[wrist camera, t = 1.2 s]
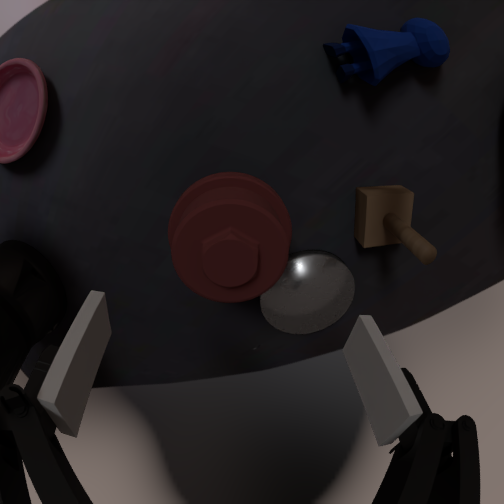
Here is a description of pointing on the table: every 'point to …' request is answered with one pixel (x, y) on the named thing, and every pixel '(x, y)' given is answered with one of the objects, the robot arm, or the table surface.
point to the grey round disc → (309, 293)
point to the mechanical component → (229, 237)
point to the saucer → (21, 107)
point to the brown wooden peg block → (389, 220)
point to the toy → (389, 49)
